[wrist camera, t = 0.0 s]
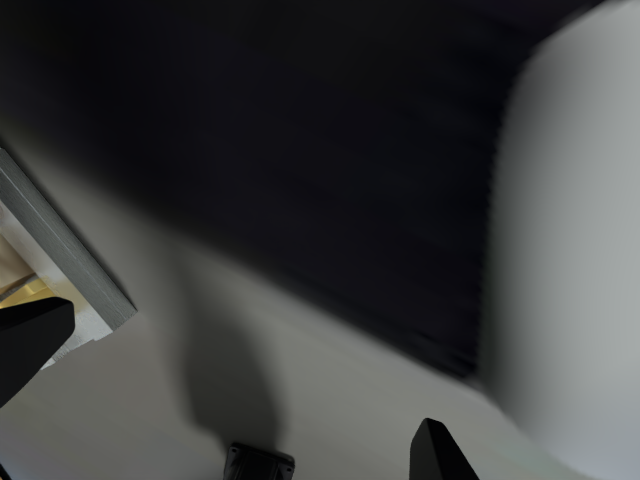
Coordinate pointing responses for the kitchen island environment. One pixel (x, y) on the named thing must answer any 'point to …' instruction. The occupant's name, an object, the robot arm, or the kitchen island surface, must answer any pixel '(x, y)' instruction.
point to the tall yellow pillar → (28, 294)
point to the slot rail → (58, 259)
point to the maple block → (12, 267)
